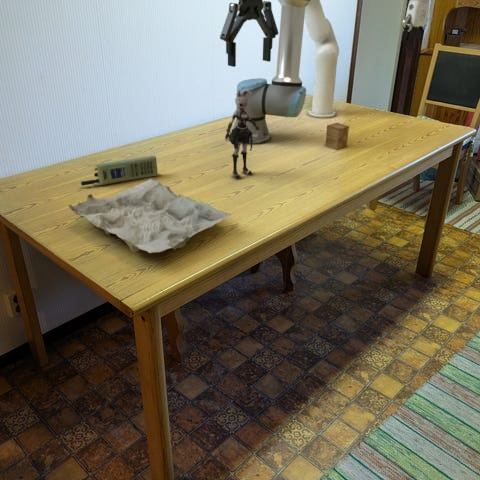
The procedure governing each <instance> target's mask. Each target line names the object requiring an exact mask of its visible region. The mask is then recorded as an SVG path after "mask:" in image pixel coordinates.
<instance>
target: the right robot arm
mask: <svg viewBox="0 0 480 480" xmlns="http://www.w3.org/2000/svg"><path fill="white" fill-rule="evenodd" d="M429 10H430V0H409V1H408V5H407V10H406V14H405V18H404V19H403V20H402V31H403V33H402V39H401V41H402V42H405V43H409V42H410V40H411V34H412V32H411V31H412V29H413V27H414V28H416V33H415V37H414V39H415V40H417V41H423V40H424V35H425V34H424V33H425V30H426V26H427V24H428V22H429V12H430V11H429ZM304 23H305V25H306V28H307V31H308V35H309V37H310V39H311V40H312V41H313V42H314V45H315V48H316V53H315V59H314V63H315V65H314V79H313V80H314V81H313V93H312V94H313V95H312V106H311V109H309V110H308V112H307V113H308V115H309V116H310V117H315V118H320V119H321V118H322V119H323V118H324V119H326V118H327V119H328V118H333V117H335V116H336V111H334V110H333V108H334V97H335V88H336V87H335V86H336V79H337V78H336V76H337V65H338V58H339V53H340V47H339V43H338V41H337V37H336V35H335V32H334V29H333V26H332V23H331V22H330V20H329V19H328V18H327V17H326V16H325V13H324V10H323V6H322V3H321V0H310V3H309V4H308V5H307V6H306V7H305V17H304Z"/></svg>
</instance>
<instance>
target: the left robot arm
mask: <svg viewBox="0 0 480 480" xmlns="http://www.w3.org/2000/svg"><path fill="white" fill-rule="evenodd" d="M277 1H278V3H279V4H280V5H281V10H280V21H279V29H278V27H277V23H276V19H275V17H274V13H273V10H272V9H273V8H272V2H271V1H269V0H264V1H263V0H238V3H236V2H235V3H234V2H229V4H228V12H227V15H226V18H225V21H224V24H223V26H222V30H221V32H220V35H219V39H220V40H221V41H224V42H225V54H226V55H227V66H228V67H233V68H235V67H236V66H237V42H235V39H236V38H237V36H238V34H239V33H240V31H241V29H242V27H243V26H244V24H245V23H246V22H247V21H252V20H255V21H256V22H257V24H258V25H259V27H260V30H261V31H262V33H263V35H264V36H265V37H264V36H263V38H262V61H264V62H269V63H270V62H271V59H272V57H271V56H272V49H273V39H275V38H276V36H278V46H277V48H278V49H277V59H276V73H275V76H274V77H273V78H271V83H268V80H267V79H266V78H262V77H261V78H260V77H259V78H257V77H256V78H249V79H243V80H241V81H239V82H238V83H237V85H236V91H237V90H239V89H241V88H243V86H244V88H243V89H242V90H241V91H240V95H242V93H243V91H244V90H246V89H248V90H250V91H251V93H252V95H250V94H249V93H248V92H247V94H246V97H247V99H248V101H247V107H246V108H245V109H246V110H247V112H248V114H249V116H250V118H252V120H253V121H255V122H256V125H257V126H258V128H259V129H260V133H258V132H257V131H256V128H255V126H254V125H253V124H252V123H250V122H249V120H247V121H246V125H247V126H248V129H249V130H250V131H251V132H252V133H253V134H252V136H253V138H252V140H253V142H252V145H257V144H262V143H266V142H268V141H269V140H270V130H269V127H268V124H267V121H266V116H273V117H274V116H275V117H283V118H286V119H287V118H297V117H298V116H300V114H301V113H302V111H303V108H304V105H305V102H306V96H307V88H306V87H305V86H303V81H302V79H301V77H300V70H301V69H300V67H301V59H302V58H301V56H302V48H303V36H304V28H305V27H304V26H305V19H304V17H305V7H306V6H307V5H308V4H309V3H310V0H277ZM235 96H237V92H236V93H235ZM238 108H239V107H237V106H236V110H238ZM234 122H235V123H234V125H233V128H232V129H234V128H235V127H236V126H237V125H238V123H239V122H238V121H237V118H235V121H234ZM253 143H254V144H253ZM241 144H242V142H241ZM248 145H250V139H249V144H248Z"/></svg>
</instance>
